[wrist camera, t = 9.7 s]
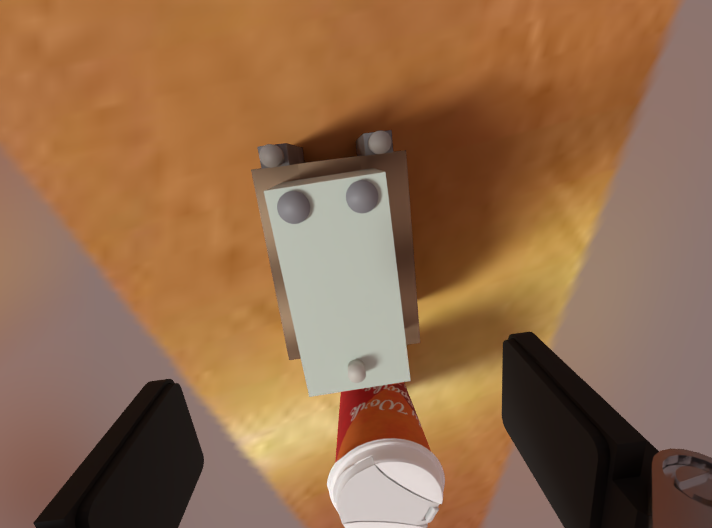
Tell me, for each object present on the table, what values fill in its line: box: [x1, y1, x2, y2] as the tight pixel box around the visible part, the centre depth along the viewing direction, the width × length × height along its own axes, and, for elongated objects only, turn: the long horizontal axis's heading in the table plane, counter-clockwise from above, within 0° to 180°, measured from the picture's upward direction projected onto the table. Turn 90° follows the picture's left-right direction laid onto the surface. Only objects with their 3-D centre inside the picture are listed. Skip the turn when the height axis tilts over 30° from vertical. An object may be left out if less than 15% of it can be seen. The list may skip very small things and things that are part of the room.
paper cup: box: [327, 382, 445, 528], centre depth 29 cm, size 8×8×14 cm
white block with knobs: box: [264, 168, 411, 397], centre depth 21 cm, size 12×6×7 cm, turn 9°
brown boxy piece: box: [251, 130, 420, 360], centre depth 26 cm, size 15×10×10 cm, turn 7°
